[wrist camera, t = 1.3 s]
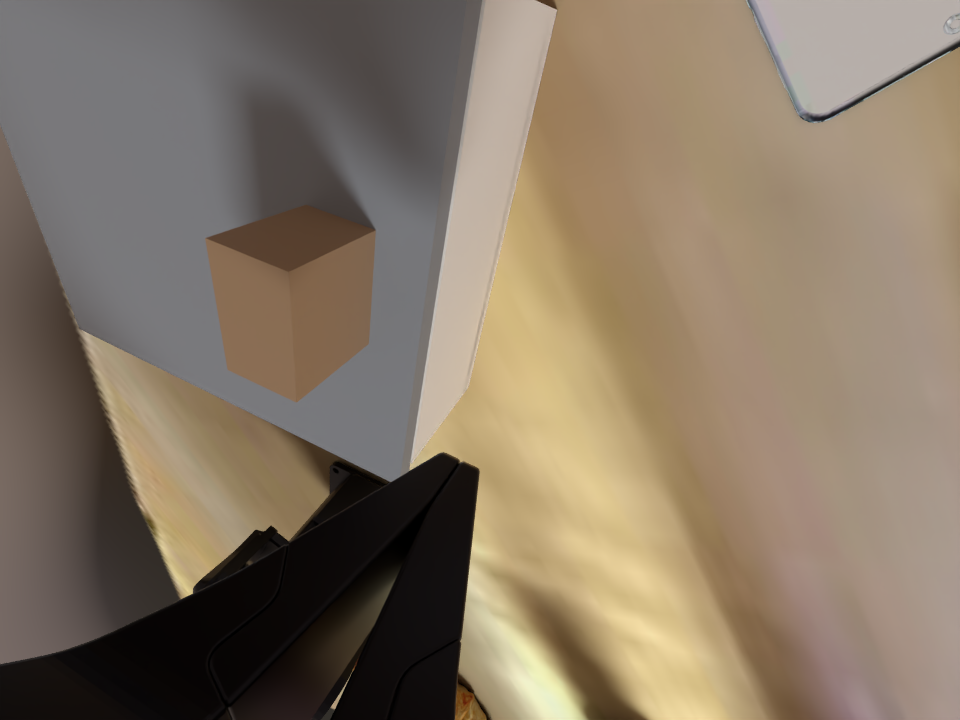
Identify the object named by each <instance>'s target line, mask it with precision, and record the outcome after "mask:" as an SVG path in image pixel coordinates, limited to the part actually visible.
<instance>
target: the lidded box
mask: <svg viewBox="0 0 960 720" xmlns="http://www.w3.org/2000/svg"><path fill="white" fill-rule="evenodd" d="M556 13H557V10H556V9H554V8H552V7H549V6H547V5H545V4H543V3H541V2H538V1H536V0H482V5H481V11H480V18H479V24H478V31H477V37H476V44H475V50H474V56H473V63H472V69H471V76H470V82H469V89H468V95H467V101H466V108H465V114H464V121H463V127H462V133H461V140H460V146H459V153H458V159H457V166H456V172H455V178H454V185H453V191H452V198H451V204H450V211H449V217H448V223H447V230H446V236H445V243H444V249H443V256H442V262H441V268H440V275H439V281H438V288H437V294H436V300H435V307H434V313H433V320H432V326H431V333H430V339H429V345H428V352H427V358H426V365H425V371H424V378H423V384H422V390H421V397H420V403H419V410H418V416H417V423H416V429H415V435H414V442H413V448H412V455H411V461H410V463H413V461H414V460H415V459H416V457H417V456H418V455H419V453H420V452H421V451H422V449H423V448H424V447H425V445H426V444H427V442H428V441H429V440H430V438H431V437H432V436H433V434H434V433H435V432H436V430H437V429H438V428H439V426H440V425H441V424H442V422H443V421H444V420H445V418H446V417H447V415H448V414H449V413H450V411H451V410H452V409H453V407H454V406H455V405H456V403H457V402H458V401H459V399H460V398H461V397H462V395H463V394H464V393H465V391H466V390H467V388H468V387H469V383H470V379H471V375H472V370H473V366H474V362H475V358H476V353H477V349H478V345H479V341H480V336H481V332H482V328H483V324H484V319H485V315H486V311H487V307H488V302H489V298H490V294H491V290H492V285H493V281H494V277H495V273H496V268H497V264H498V260H499V256H500V251H501V247H502V243H503V239H504V234H505V230H506V226H507V222H508V217H509V213H510V209H511V205H512V200H513V196H514V192H515V188H516V183H517V179H518V175H519V170H520V166H521V162H522V158H523V153H524V149H525V145H526V141H527V136H528V132H529V128H530V124H531V119H532V115H533V111H534V107H535V102H536V98H537V94H538V90H539V85H540V81H541V77H542V73H543V68H544V64H545V60H546V56H547V51H548V47H549V43H550V39H551V34H552V30H553V26H554V22H555V17H556Z"/></svg>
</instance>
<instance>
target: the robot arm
mask: <svg viewBox="0 0 960 720" xmlns="http://www.w3.org/2000/svg"><path fill="white" fill-rule="evenodd" d="M479 472H480V471H479V469H478V468H477V467H475V466H473V465H471V464H468V463H466V462H461V463H460V460H459V459H458V458H456V457H453V456H451V455H449V454H447V453H444V452H443V453H439V454H437V455H436V456H434V457H432V458H431V459H429V460H427V461H426V462H424V463H422V464H421V465H419V466H417V467H415V468H414V469H412V470H410V471H409V472H407V473H405V474H404V475H402V476H400V477H399V478H397V479H395V480H393V481H392V482H390V483H388V484H387V485H384V484H382V483H380V482H378V481H376V480H374V479H372V478H370V477H368V476H366V475H364V474H362V473H360V472H358V471H356V470H354V469H352V468H350V467H348V466H346V465H344V464H342V463H340V462H337V461H336V462H334V463H333V464H332V465H331V466H330V495H329V496H328V497H327V499H326V500H325V501H324V502H323V503H322V504H321V505H320V507H319V508H318V509H317V510H316V511H315V512H314V513H313V515H312V516H311V517H310V518H309V519H308V520H307V521H306V522H305V524H304V525H303V526H302V527H301V528H300V529H299V530H298V532H297V533H296V534H295V535H294V536H293V537H292V538H291V540H290V541H287V540H286V539H285V538H284V537H282V536H281V535H280V534H279V533H277V532H278V531H277V530H276V529H275V528H274V527H272V526H270V527H269V528H268V529H267V530H266V531H264V532H263V531H259V530H255V531H254V532H253V533H252V534H251V535H250V536H249V537H248V538H247V539H246V540H245V541H244V542H243V543H242V544H241V545H240V546H239V547H238V548H237V549H236V550H235V551H234V552H233V553H232V554H231V555H229V556H228V557H227V558H226V559H225V560H224V561H222V562H221V563H220V564H219V565H218V566H216V567H215V568H214V569H213V570H212V571H210V572H209V573H208V574H207V575H206V576H204V577H203V578H202V579H201V580H200V581H199V582H198V583H197V584H196V585H195V586H194V588H193V594H191V595H189V596H187V597H185V598H183V599H181V600H179V601H177V602H174V603H172V604H170V605H168V606H166V607H164V608H162V609H159V610H157V611H155V612H153V613H151V614H149V615H147V616H145V617H143V618H140V619H138V620H136V621H134V622H132V623H130V624H128V625H126V626H124V627H122V628H119V629H117V630H115V631H113V632H111V633H108V634H106V635H104V636H102V637H100V638H97V639H94V640H92V641H89V642H87V643H84V644H81V645H78V646H75V647H72V648H70V649H66V650H63V651H60V652H56V653H52V654H48V655H44V656H39V657H35V658H30V659H25V660H20V661H15V662H10V663H5V664H0V720H321V719H322V717H323V716H324V715H325V714H326V712H327V711H328V710H329V708H330V707H331V706H332V704H333V703H334V701H335V700H336V698H337V697H338V695H339V694H340V692H341V690H342V689H343V687H344V685H345V684H346V682H347V680H348V678H349V676H350V675H351V676H350V678H349V681H348V683H347V685H346V687H345V689H344V691H343V693H342V696H341V698H340V700H339V702H338V704H337V706H336V709H335V711H334V713H333V715H332V717H331V719H330V720H455V714H456V695H457V682H458V669H459V659H460V650H461V642H460V641H461V638H462V630H463V621H464V611H465V602H466V593H467V584H468V575H469V565H470V556H471V547H472V538H473V528H474V519H475V510H476V501H477V492H478V482H479ZM354 667H355V668H354ZM353 669H354V670H353ZM352 671H353V672H352ZM351 673H352V674H351Z"/></svg>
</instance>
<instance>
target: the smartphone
mask: <svg viewBox="0 0 960 720" xmlns="http://www.w3.org/2000/svg"><path fill="white" fill-rule="evenodd" d="M746 2H747V4H748V6H749V8H751V10H752V12H753V15H754V20H755V22H756V24H757V27H758V29H759V31H760V33H761V35H762V37H763V39H764V41H765V43H766V45H767V47H768V49H769V52H770V53H771V56H772V59H773V61H774V63H775V66H776V68H777V71H778V74H779V76H780V78H781V81H782V83H783V85H784V88H785V89H786V90H787V92H788V94H789V96H790V98H791V101H792V103H793V105H794V108H795V110H796V112H797V114H798V115H799V116H800V117H801V118H802V119H803V120H805V121H808V122H812V123H818V122H823V121H826V120H829V119H831V118H833V117H835V116H837V115H839V114H840V113H842V112H844V111H846V110H847V109H849V108H851V107H853V106H855V105H856V104H858V103H860V102H862V101H864V100H865V99H867V98H869V97H871V96H872V95H874V94H876V93H878V92H880V91H881V90H883V89H885V88H887V87H889V86H890V85H892V84H894V83H896V82H897V81H899V80H901V79H903V78H905V77H906V76H908V75H910V74H912V73H914V72H915V71H917V70H919V69H921V68H923V67H924V66H926V65H928V64H930V63H931V62H933V61H935V60H937V59H939V58H940V57H942V56H944V55H946V54H948V53H949V52H951V51H953V50H955V49H956V48H958V47H960V0H746Z"/></svg>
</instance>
